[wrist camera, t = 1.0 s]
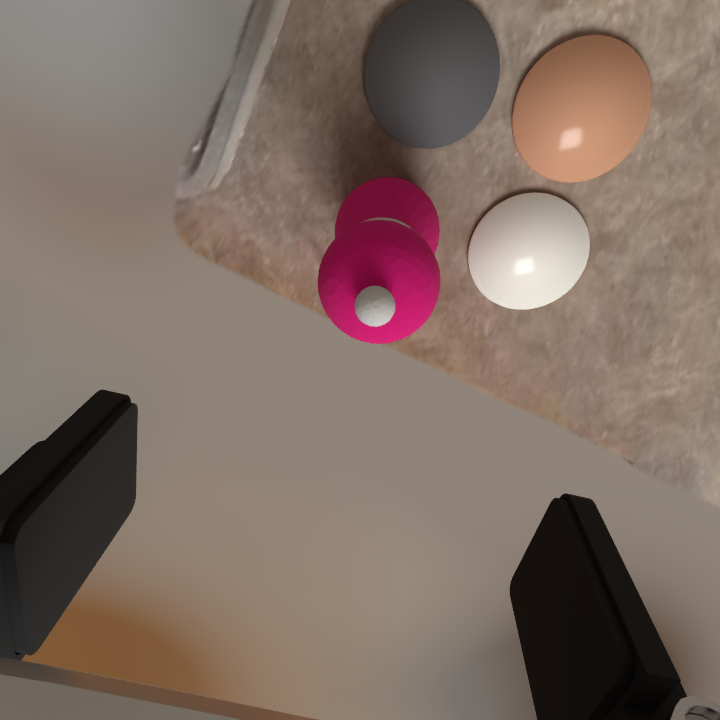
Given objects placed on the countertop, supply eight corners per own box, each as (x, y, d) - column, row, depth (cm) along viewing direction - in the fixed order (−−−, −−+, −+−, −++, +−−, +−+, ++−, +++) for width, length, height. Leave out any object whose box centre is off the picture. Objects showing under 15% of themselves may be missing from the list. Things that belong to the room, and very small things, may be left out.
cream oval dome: (606, 207, 38) (610, 209, 37) (559, 316, 42) (561, 320, 41) (489, 179, 38) (490, 180, 37) (453, 291, 42) (454, 295, 41)
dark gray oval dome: (515, 11, 33) (518, 9, 32) (476, 158, 37) (477, 159, 36) (378, -16, 33) (378, -19, 32) (355, 134, 37) (354, 134, 36)
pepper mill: (455, 228, 39) (495, 329, 21) (380, 283, 42) (361, 415, 24) (398, 148, 37) (389, 186, 19) (323, 211, 39) (253, 298, 22)
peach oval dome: (671, 54, 33) (677, 53, 33) (611, 193, 37) (616, 195, 37) (538, 21, 33) (541, 19, 33) (493, 165, 37) (495, 166, 37)
